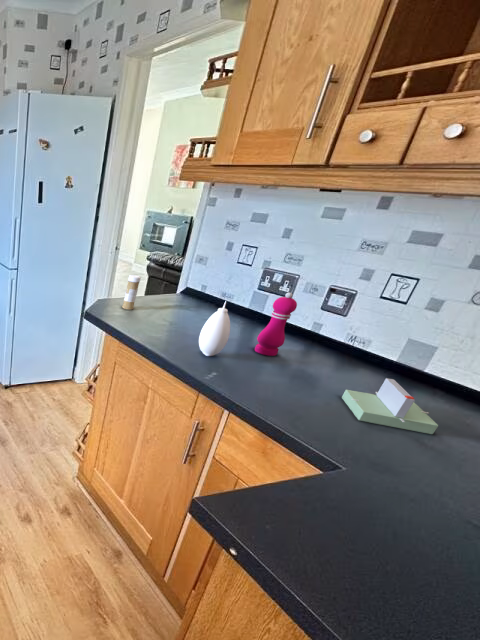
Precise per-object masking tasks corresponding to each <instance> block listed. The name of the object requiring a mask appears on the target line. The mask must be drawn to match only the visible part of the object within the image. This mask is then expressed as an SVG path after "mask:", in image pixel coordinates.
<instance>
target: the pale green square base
mask: <svg viewBox="0 0 480 640" xmlns="http://www.w3.org/2000/svg"><path fill="white" fill-rule="evenodd" d="M377 393H378V391H375V393H369V392H363V391H356V390H350V389H345V390H344V393H343V394H342V396H341V399H342V400H343V401H344V403H345V404H346V405H347V407H348V409H350V411H351V412H352V413H353V415H354V416H355V418H356V419H357V420H358V421H360V422H364V423H370V424H376V425H381V426H385V427H392V428H397V429H402V430H407V431H413V432H418V433H424V434H428V435H433V434H434V433H435V431H436V430H437V429H438V427H439V424H438V423H436V422H435V421H434V420H433V419H432V418H431V417H430V416H429V414H430V412H428V411H424V410H423V409H422V408H421V407H420V406H419V405H418V404H417V403H415V401H414V402H413V404H412V406H411V407H410V409H409V410H408V412H407V413H406V415H405V416H404V418H401V417H395V416H394V415H393V414H392V412H391V411H390V410H389V409H388V408H387V407H386V406H385V405H384V403H383V402H382V401H381V400H380V399H379V398H378V397H377V396H376V395H377Z"/></svg>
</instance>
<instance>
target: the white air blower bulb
mask: <svg viewBox="0 0 480 640" xmlns="http://www.w3.org/2000/svg"><path fill="white" fill-rule="evenodd" d="M226 305H227V300H225V302H224V304H223V306H222V307H219V308H218V309H217V311H215V312H213V313H212V314H211V315H210V316H209V318H208V319H207V320H206V321H205V323H204V325H203V326H202V328H201V330H200V333H199V335H198V347H199V350H200V351H201V352H202V354H203V355H205V356H207V357H213V356H215V355H218V354H220V352H221V351H222V350H224V349H225V347H226V345H227V344H228V341H229V338H230V334H231V321H230V320H231V319H230V315H229V313H228V312H229V311H228V309H227V308H226Z"/></svg>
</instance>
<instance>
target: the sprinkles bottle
mask: <svg viewBox="0 0 480 640" xmlns="http://www.w3.org/2000/svg"><path fill="white" fill-rule="evenodd" d="M141 278H142V277H141V275H138V274H129V276H128V278H127V285H126V290H125V294H124V299H123V303H122V308H123V309H124V310H134V309H135V307H134V306H135V302H136V298H137V295H138V290H139V286H140V282H141Z"/></svg>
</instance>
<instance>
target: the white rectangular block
mask: <svg viewBox="0 0 480 640" xmlns="http://www.w3.org/2000/svg"><path fill="white" fill-rule="evenodd" d="M377 392H378V393H376V394H375V395H376V396H377V397H378V398H379V399H380V400H381V401H382V402H383V403H384V405H385V406H386V407H387V408H388V409H389V410H390V411H391V412H392V414H393V415H394V416H395V417H401V418H404V416H405V415H406V413H407V412H408V410H409V409H410V407H411V406H412V404H413V402H414V403H415V400H416V399H415V397H413V396H411V395H410V394H409V392H407V390H406V389H404V387H402V386H401V385H400V383H398V382H397V381H396V380H395V379H393V378H387V377H386V378H385V379H384V381H383V383H382V385H381V386H380V388H379V390H378V391H377Z"/></svg>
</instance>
